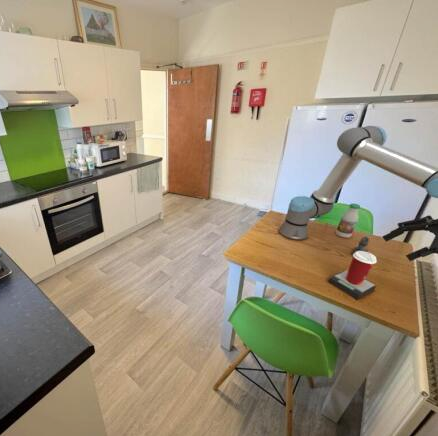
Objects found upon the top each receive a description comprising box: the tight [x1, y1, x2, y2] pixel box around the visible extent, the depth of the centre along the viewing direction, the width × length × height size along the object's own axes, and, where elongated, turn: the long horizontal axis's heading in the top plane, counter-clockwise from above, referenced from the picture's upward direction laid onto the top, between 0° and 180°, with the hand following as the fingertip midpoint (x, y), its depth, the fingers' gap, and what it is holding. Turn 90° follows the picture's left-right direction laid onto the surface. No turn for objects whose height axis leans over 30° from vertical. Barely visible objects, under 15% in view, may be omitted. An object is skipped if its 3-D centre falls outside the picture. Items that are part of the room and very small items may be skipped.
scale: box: [327, 269, 377, 300], centre depth 106 cm, size 12×12×3 cm
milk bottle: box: [335, 203, 361, 239], centre depth 140 cm, size 8×8×20 cm
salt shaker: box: [351, 235, 370, 256], centre depth 124 cm, size 6×6×12 cm
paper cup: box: [346, 251, 378, 285], centre depth 102 cm, size 8×8×14 cm
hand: (395, 248), depth 96 cm, fingers open, 13 cm apart
